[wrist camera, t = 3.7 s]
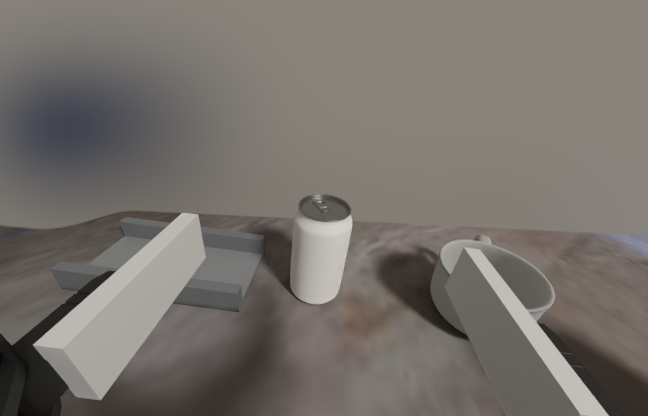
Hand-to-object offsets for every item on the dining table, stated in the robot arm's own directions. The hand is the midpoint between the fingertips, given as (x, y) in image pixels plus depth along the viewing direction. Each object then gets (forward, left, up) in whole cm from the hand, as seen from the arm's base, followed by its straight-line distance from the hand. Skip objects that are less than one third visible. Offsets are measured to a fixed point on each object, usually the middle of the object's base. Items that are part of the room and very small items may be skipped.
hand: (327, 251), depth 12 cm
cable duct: (-18, +13, -17) cm, 28 cm away
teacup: (+20, +13, -17) cm, 29 cm away
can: (0, +13, -17) cm, 21 cm away
